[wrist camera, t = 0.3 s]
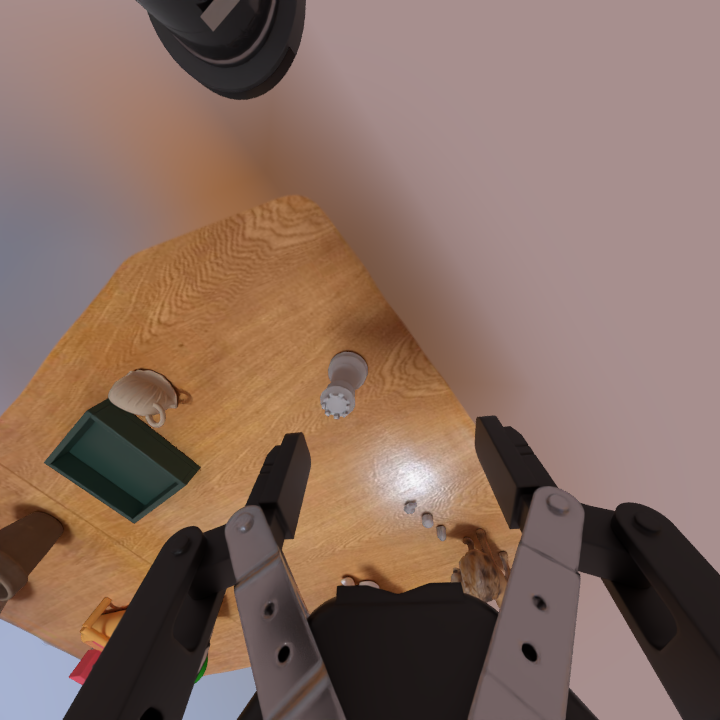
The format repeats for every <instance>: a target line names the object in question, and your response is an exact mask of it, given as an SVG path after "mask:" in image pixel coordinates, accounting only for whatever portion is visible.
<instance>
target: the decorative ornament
mask: <svg viewBox="0 0 720 720" xmlns="http://www.w3.org/2000/svg"><path fill="white" fill-rule="evenodd" d="M108 397H109V400H110V401H111V402H112V403H113V404H114V405H116V406H117V407H119V408H121V409H123V410H125V411H128V412H130V413H133V414H137V415H143V416H146V420H147V421H148V423H149V424H150V425H151V426H153V427H161V426H162V425H163V424H164V423H165V419H166V413H165V410H167V409H168V408H177V395H176V393H175V390H174V389H173V388H172V386H171V384H170V382H168V381H167V380H166V379H165V377H164V376H163V375H160V374H158V373H156V372H154V371H151V370H147V371H142V370H137V371H131V372H129V373H128V374H127V375H126V376H124V377H123V378H121V379H120V380H118V381H117V382H115V383H114V385H113V387H112V388H111V390H110V391H109V394H108ZM159 413H160V416H161V419H160V422H159V423H156V422H155V421H154V420H153V417H152V415H156V414H159Z"/></svg>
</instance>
